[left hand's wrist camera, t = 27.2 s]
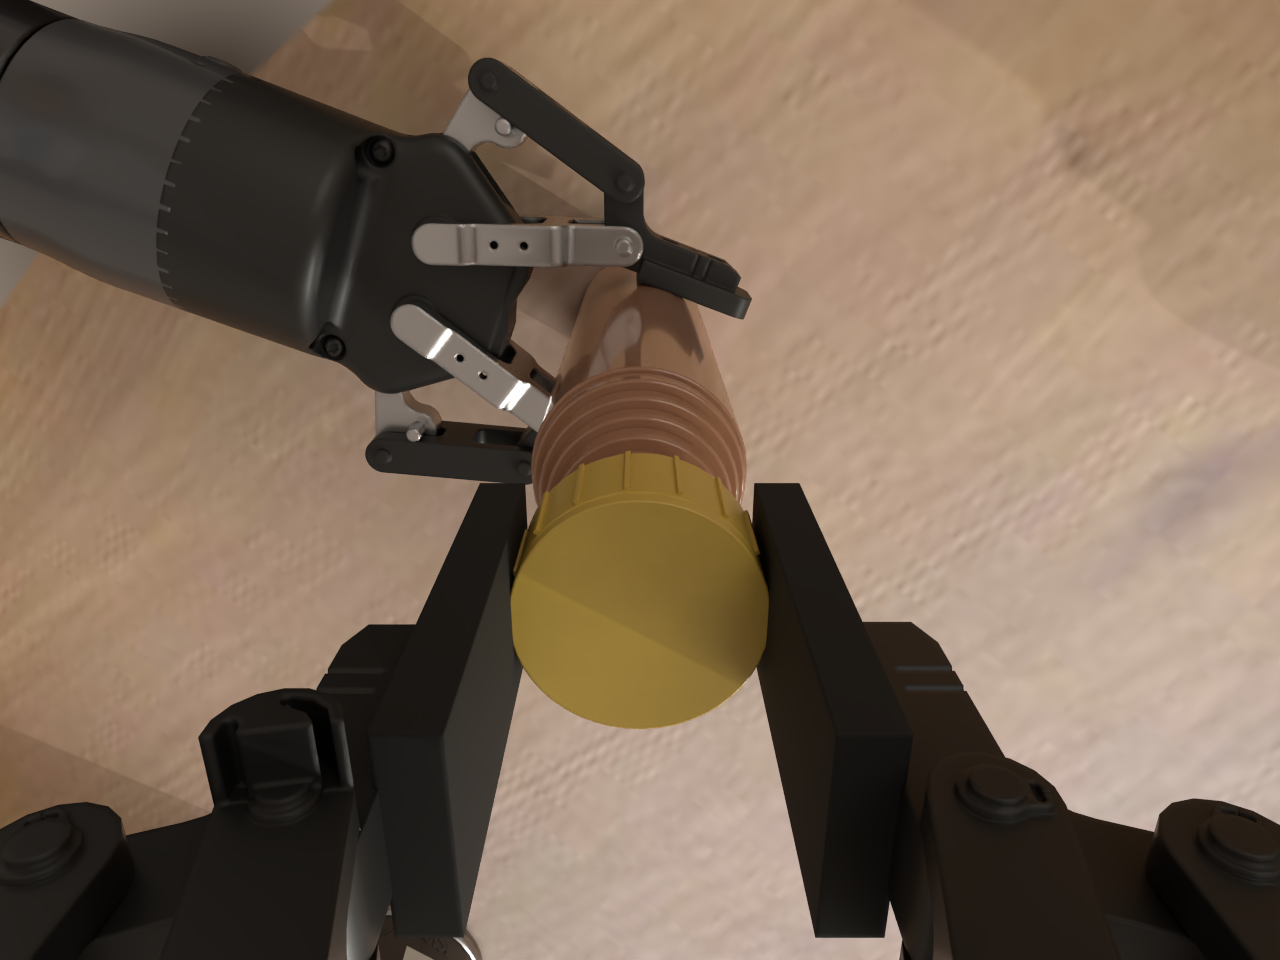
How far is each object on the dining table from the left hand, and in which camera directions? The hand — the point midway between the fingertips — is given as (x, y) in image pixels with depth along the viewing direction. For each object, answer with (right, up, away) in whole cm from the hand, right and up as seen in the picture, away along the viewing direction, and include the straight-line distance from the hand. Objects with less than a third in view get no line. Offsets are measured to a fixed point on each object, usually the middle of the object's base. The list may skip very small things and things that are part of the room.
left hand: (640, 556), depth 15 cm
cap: (0, -1, -2) cm, 2 cm away
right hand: (+2, +5, +14) cm, 15 cm away
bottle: (0, +8, +20) cm, 21 cm away
